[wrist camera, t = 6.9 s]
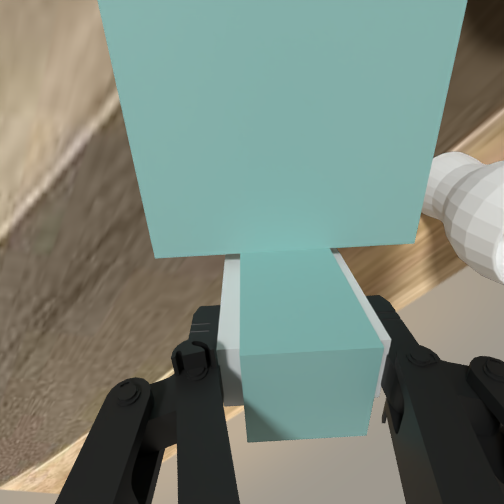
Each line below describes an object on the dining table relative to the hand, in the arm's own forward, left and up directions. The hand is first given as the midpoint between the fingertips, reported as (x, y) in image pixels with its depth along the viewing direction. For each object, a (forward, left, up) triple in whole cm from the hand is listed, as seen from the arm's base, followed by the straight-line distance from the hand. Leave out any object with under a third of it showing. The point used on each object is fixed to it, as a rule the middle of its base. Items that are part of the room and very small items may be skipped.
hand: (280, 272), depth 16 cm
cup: (+3, +22, -22) cm, 31 cm away
